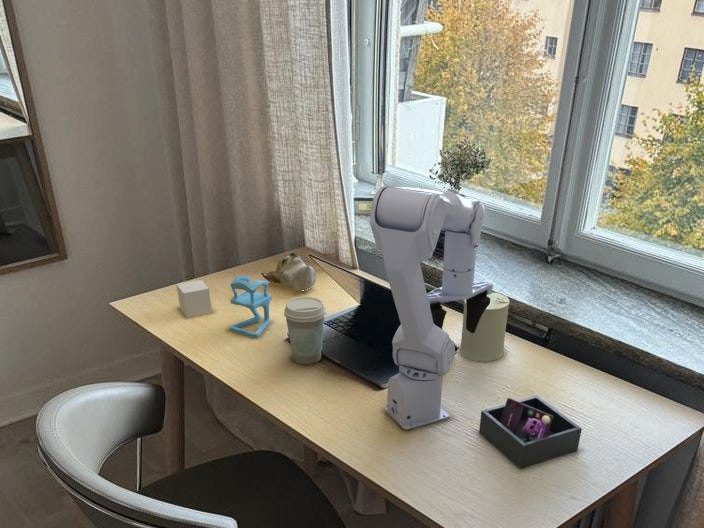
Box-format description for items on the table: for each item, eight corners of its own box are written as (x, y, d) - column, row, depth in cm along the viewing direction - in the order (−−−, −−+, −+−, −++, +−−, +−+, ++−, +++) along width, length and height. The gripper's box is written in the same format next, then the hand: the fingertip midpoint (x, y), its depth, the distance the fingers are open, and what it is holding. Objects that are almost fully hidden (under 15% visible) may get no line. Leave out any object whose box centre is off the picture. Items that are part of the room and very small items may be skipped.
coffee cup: (280, 363, 160) (276, 309, 153) (297, 346, 167) (294, 293, 160) (317, 370, 158) (315, 315, 151) (334, 352, 164) (332, 298, 157)
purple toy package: (505, 397, 134) (550, 416, 128) (520, 396, 137) (564, 414, 132) (494, 434, 136) (537, 454, 131) (509, 431, 140) (552, 450, 135)
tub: (520, 468, 129) (523, 446, 126) (478, 432, 138) (481, 410, 135) (577, 451, 133) (582, 428, 130) (533, 417, 142) (537, 395, 139)
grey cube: (179, 308, 184) (176, 284, 180) (204, 303, 186) (201, 279, 182) (187, 317, 179) (183, 293, 176) (212, 312, 181) (209, 288, 178)
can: (502, 363, 159) (509, 308, 152) (457, 359, 161) (462, 305, 154) (504, 343, 166) (510, 290, 159) (461, 340, 168) (465, 287, 161)
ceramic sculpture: (289, 264, 181) (256, 250, 191) (292, 300, 186) (260, 285, 196) (326, 255, 186) (292, 242, 196) (328, 290, 191) (295, 275, 201)
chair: (278, 324, 176) (275, 273, 168) (256, 338, 170) (251, 286, 163) (251, 317, 179) (247, 266, 172) (228, 330, 173) (223, 279, 166)
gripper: (480, 253, 146) (474, 319, 154) (413, 266, 141) (410, 334, 149) (501, 265, 141) (494, 333, 149) (432, 279, 136) (429, 349, 144)
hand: (453, 335), depth 149 cm, fingers open, 7 cm apart
